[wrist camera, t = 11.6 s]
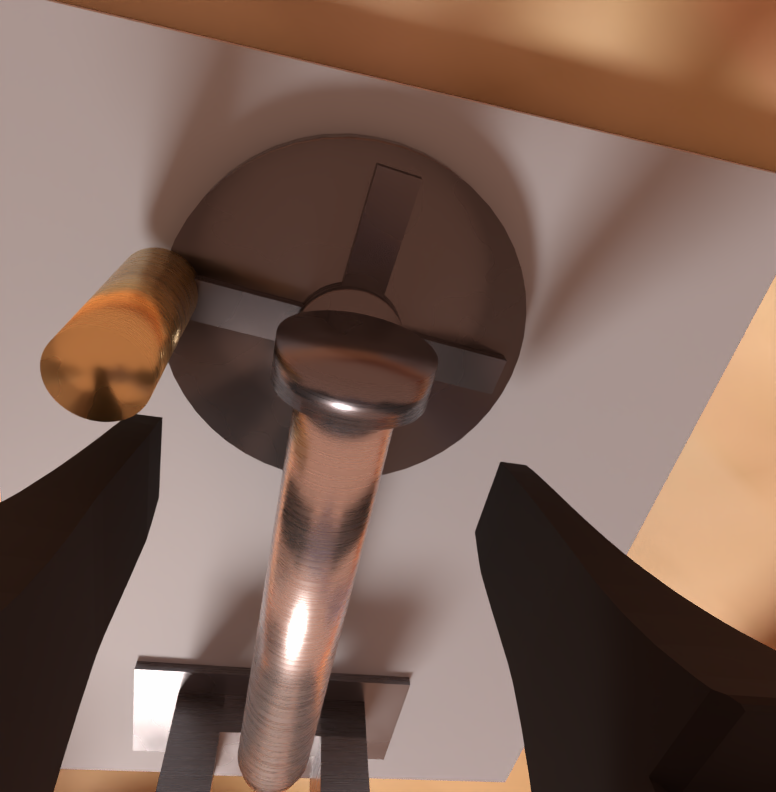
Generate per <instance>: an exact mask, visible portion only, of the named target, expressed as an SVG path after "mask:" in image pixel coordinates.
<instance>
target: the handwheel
mask: <svg viewBox="0 0 776 792" xmlns="http://www.w3.org/2000/svg"><path fill="white" fill-rule="evenodd" d="M317 310H336V311H347V312H354V313H360V314H365V315H369V316H373V317H377V318H380V319H384V320H386V321H389V322H392V323H395V324H397V325H399V326H402V327H404V328H406V329H408V330H410V331H412V332H413V333H415V334H417V335H418V336H420V337H421V338H423V339H424V340H425V341H426V342H427V343H428V344H429V345H430V346H431V347H432V348H433V349H434V351H435V352H436V354H437V356H438V367H437V370H436V374H435V378H434V381H433V385H432V388H431V392H430V395H429V399H428V403H427V406H426V409H425V411H424V413H423V414H422V415H421V416H420V417H419V418H418V419H417V420H415V421H414V422H412V423H410V424H407V425H405V426H402V427H398V428H393V432H392V436H391V440H390V444H389V448H388V452H387V456H386V459H385V463H384V467H383V471H382V475H385V474H389V473H393V472H396V471H400V470H403V469H407V468H409V467H412V466H414V465H417V464H419V463H422V462H424V461H426V460H428V459H430V458H432V457H434V456H436V455H437V454H439V453H441V452H443V451H445V450H446V449H447V448H449V447H450V446H452V445H453V444H455V443H456V442H458V441H459V440H460V439H462V438H463V437H464V436H465V435H466V434H467V433H469V432H470V431H471V430H472V429H473V428H474V427H475V426H476V425H477V424H478V423H479V422H480V421H481V420H482V419H483V418H484V417H485V416H486V414H487V413H488V412H489V411H490V410H491V408H492V407H493V406H494V404H495V403H496V401H497V400H498V399H499V397H500V396H501V394H502V393H503V391H504V389H505V387H506V385H507V383H508V382H509V380H510V378H511V376H512V374H513V371H514V368H515V366H516V363H517V361H518V358H519V355H520V351H521V347H522V343H523V339H524V333H525V323H526V291H525V285H524V280H523V274H522V269H521V266H520V263H519V260H518V257H517V254H516V251H515V248H514V246H513V244H512V242H511V240H510V238H509V236H508V234H507V232H506V230H505V228H504V226H503V225H502V223H501V222H500V220H499V219H498V217H497V216H496V215H495V213H494V212H493V210H492V209H491V207H490V206H489V205H488V204H487V203H486V202H485V201H484V200H483V199H482V198H481V197H480V195H479V194H478V193H477V192H476V191H475V190H474V189H473V188H472V187H471V186H470V185H469V184H468V183H467V182H466V181H465V180H464V179H462V178H461V177H460V176H459V175H457V174H456V173H455V172H454V171H452V170H451V169H450V168H449V167H447V166H446V165H445V164H443V163H441V162H439V161H438V160H436V159H434V158H433V157H431V156H429V155H428V154H426V153H424V152H422V151H419V150H417V149H415V148H412V147H410V146H407V145H405V144H403V143H400V142H396V141H392V140H388V139H384V138H381V137H377V136H369V135H360V134H351V133H344V134H321V135H315V136H310V137H304V138H298V139H295V140H292V141H288V142H285V143H282V144H279V145H276V146H273V147H271V148H269V149H267V150H265V151H263V152H261V153H259V154H257V155H255V156H253V157H251V158H249V159H247V160H246V161H244V162H243V163H242V164H240V165H239V166H237V167H236V168H234V169H233V170H231V171H230V172H228V173H227V174H226V175H225V176H224V177H223V178H222V179H221V180H220V181H219V182H218V183H217V184H216V185H214V186H213V187H212V188H211V189H210V190H209V192H208V193H207V194H206V195H205V196H204V198H203V199H202V200H201V201H200V203H199V204H198V205H197V206H196V208H195V209H194V210H193V211H192V213H191V214H190V215H189V217H188V218H187V219H186V221H185V223H184V225H183V226H182V228H181V230H180V232H179V233H178V235H177V237H176V238H175V240H174V243H173V246H172V248H171V251H170V250H167V249H164V248H156V247H153V248H145V249H142V250H139V251H137V252H135V253H133V254H132V255H131V256H130V257H129V258H127V260H126V261H125V262H124V263H123V264H122V265H121V266H120V267H119V268H118V269H117V270H116V271H115V272H114V273H113V274H112V276H111V277H110V278H109V279H108V280H107V281H106V282H105V283H104V284H103V285H102V286H101V287H100V288H99V289H98V290H97V292H96V293H95V294H94V295H93V296H92V297H91V298H90V299H89V300H88V301H87V302H86V303H85V304H84V305H83V307H82V308H81V309H80V310H79V311H78V312H77V313H76V314H75V315H74V316H73V317H72V318H71V319H70V320H69V321H68V323H67V324H66V325H65V326H64V327H63V328H62V329H61V330H60V331H59V332H58V333H57V334H56V335H55V336H54V337H53V339H52V340H51V341H50V342H49V343H48V344H47V346H46V347H45V349H44V351H43V353H42V356H41V360H40V372H41V377H42V380H43V383H44V385H45V387H46V389H47V391H48V392H49V394H50V395H51V396H52V397H53V398H54V400H55V401H56V402H57V403H59V404H60V405H61V406H62V407H63V408H65V409H66V410H68V411H69V412H71V413H73V414H75V415H77V416H79V417H82V418H85V419H88V420H92V421H98V422H115V421H121V420H124V419H127V418H130V417H132V416H134V415H135V414H137V413H138V412H140V411H141V410H142V409H143V408H144V407H145V406H146V404H147V403H148V401H149V400H150V398H151V396H152V394H153V392H154V390H155V388H156V386H157V384H158V382H159V380H160V378H161V376H162V374H163V372H164V370H165V368H166V366H167V364H168V363H169V365H170V368H171V371H172V373H173V376H174V378H175V379H176V381H177V383H178V385H179V387H180V389H181V391H182V392H183V394H184V396H185V397H186V399H187V400H188V401H189V403H190V404H191V405H192V407H193V408H194V410H195V411H196V412H197V413H198V415H199V416H200V417H201V418H202V419H203V420H204V421H205V422H206V423H207V424H208V425H209V426H210V427H211V428H212V429H213V430H214V431H215V432H216V433H218V434H219V435H220V436H221V437H222V438H224V439H225V440H226V441H227V442H229V443H230V444H232V445H233V446H235V447H236V448H238V449H239V450H241V451H242V452H244V453H245V454H247V455H249V456H251V457H253V458H255V459H257V460H259V461H261V462H263V463H265V464H268V465H271V466H273V467H276V468H279V469H281V470H283V466H284V460H285V453H286V447H287V441H288V435H289V428H290V422H291V416H292V410H293V408H292V407H291V406H289V405H288V404H287V403H286V402H284V401H283V400H282V399H281V398H280V397H279V396H278V395H277V393H276V392H275V391H274V389H273V387H272V384H271V380H270V377H271V368H272V360H273V353H274V346H275V338H276V331H277V328H278V326H279V324H280V323H281V322H282V321H283V320H285V319H286V318H288V317H290V316H292V315H295V314H298V313H302V312H308V311H317Z"/></svg>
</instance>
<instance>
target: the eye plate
mask: <svg viewBox="0 0 776 792" xmlns="http://www.w3.org/2000/svg"><path fill="white" fill-rule="evenodd" d="M250 672H251V668H246V667H230V666H213V665H197V664H180V663H164V662H147V661H137V662H136V666H135V669H134V713H133V751H158V752H165V754H164V758H163V763H162V767H161V771H160V776H159V780H158V784H157V789H156V792H211V791H212V784H213V778H214V775H222V776H243V775H242V773H241V771H240V768H239V765H238V758H237V755H238V747H239V741H240V735H241V728H242V722H243V716H244V710H245V703H246V697H247V691H248V685H249V678H250ZM409 687H410V680H409V677H395V676H379V675H362V674H346V673H331V674H330V678H329V682H328V686H327V690H326V694H325V698H324V702H323V706H322V709H321V713H320V717H319V721H318V725H317V729H316V733H315V737H314V741H313V745H312V748H311V752H310V756H309V760H308V764H307V767H306V769H305V771H304V773H303V774H302V776H301V777H300V778H310V792H370V789H369V772H368V759H382V760H384V757H385V755H386V752H387V749H388V746H389V743H390V741H391V738H392V735H393V732H394V729H395V727H396V724H397V721H398V718H399V715H400V713H401V710H402V707H403V704H404V701H405V698H406V696H407V693H408V690H409Z"/></svg>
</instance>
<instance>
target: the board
mask: <svg viewBox="0 0 776 792" xmlns="http://www.w3.org/2000/svg"><path fill="white" fill-rule="evenodd" d="M344 133H351V134H360V135H369V136H377V137H381V138H384V139H388V140H392V141H396V142H400V143H403V144H405V145H407V146H410V147H412V148H415V149H417V150H419V151H422V152H424V153H426V154H428V155H429V156H431V157H433V158H434V159H436V160H438V161H439V162H441V163H443V164H445V165H446V166H447V167H449V168H450V169H451V170H452V171H454V172H455V173H456V174H457V175H459V176H460V177H461V178H462V179H464V180H465V181H466V182H467V183H468V184H469V185H470V186H471V187H472V188H473V189H474V190H475V191H476V192H477V193H478V194H479V195H480V197H481V198H482V199H483V200H484V201H485V202H486V203H487V204H488V205H489V206H490V207H491V209H492V210H493V212H494V213H495V215H496V216H497V217H498V219H499V220H500V222H501V223H502V225H503V226H504V228H505V230H506V232H507V234H508V236H509V238H510V240H511V242H512V244H513V246H514V248H515V251H516V254H517V257H518V260H519V263H520V266H521V269H522V274H523V280H524V285H525V291H526V323H525V333H524V339H523V343H522V347H521V351H520V355H519V358H518V361H517V363H516V366H515V368H514V371H513V374H512V376H511V378H510V380H509V382H508V383H507V385H506V387H505V389H504V391H503V393H502V394H501V396H500V397H499V399H498V400H497V401H496V403H495V404H494V406H493V407H492V408H491V410H490V411H489V412H488V413H487V414H486V416H485V417H484V418H483V419H482V420H481V421H480V422H479V423H478V424H477V425H476V426H475V427H474V428H473V429H472V430H471V431H470V432H469V433H467V434H466V435H465V436H464V437H463V438H462V439H460V440H459V441H458V442H456V443H455V444H453V445H452V446H450V447H449V448H447V449H446V450H445V451H443V452H441V453H439V454H437V455H436V456H434V457H432V458H430V459H428V460H426V461H424V462H422V463H419V464H417V465H414V466H412V467H409V468H407V469H403V470H400V471H396V472H393V473H389V474H385V475H381V479H380V483H379V487H378V491H377V495H376V499H375V502H374V506H373V510H372V514H371V518H370V522H369V526H368V530H367V534H366V538H365V541H364V545H363V549H362V553H361V557H360V561H359V565H358V569H357V573H356V577H355V581H354V584H353V588H352V592H351V596H350V600H349V604H348V608H347V612H346V616H345V620H344V624H343V627H342V631H341V635H340V639H339V643H338V647H337V651H336V655H335V659H334V663H333V666H332V670H331V673H346V674H362V675H379V676H395V677H409V680H410V687H409V690H408V693H407V696H406V698H405V701H404V704H403V707H402V710H401V713H400V715H399V718H398V721H397V724H396V727H395V729H394V732H393V735H392V738H391V741H390V743H389V746H388V749H387V752H386V755H385V757H384V760H382V759H368V772H369V778H381V779H415V780H448V781H481V782H505V781H506V780H507V778H508V776H509V774H510V772H511V770H512V768H513V766H514V765H515V763H516V761H517V759H518V757H519V755H520V753H521V751H522V750H523V748H524V741H523V735H522V729H521V723H520V718H519V713H518V707H517V702H516V697H515V692H514V686H513V682H512V678H511V674H510V670H509V666H508V662H507V659H506V656H505V653H504V649H503V646H502V643H501V639H500V636H499V633H498V629H497V626H496V623H495V619H494V616H493V613H492V610H491V606H490V603H489V599H488V596H487V593H486V589H485V586H484V582H483V579H482V575H481V571H480V565H479V559H478V552H477V545H476V537H475V530H476V527H477V524H478V522H479V519H480V516H481V513H482V511H483V508H484V505H485V502H486V500H487V497H488V494H489V491H490V489H491V486H492V483H493V480H494V478H495V475H496V472H497V469H498V467H499V464H500V462H507V463H515V464H522V465H527V466H528V467H529V468H531V469H532V470H533V471H534V472H535V473H536V474H538V475H539V476H540V477H541V478H542V479H543V480H544V481H545V482H546V483H547V484H548V485H549V486H550V487H551V488H553V489H554V490H555V491H556V492H557V493H558V494H559V495H560V496H561V497H562V498H563V499H564V500H565V501H566V502H567V503H568V504H569V505H570V506H571V507H572V508H574V509H575V510H576V511H577V512H578V513H579V514H580V515H581V516H582V517H583V518H584V519H585V520H586V521H587V522H589V523H590V524H591V525H592V526H593V527H594V528H595V529H596V530H597V531H598V532H600V533H601V534H602V535H603V536H604V537H605V538H606V539H608V540H609V541H610V542H611V543H612V544H614V545H615V546H616V547H617V548H618V549H619V550H621V551H622V552H623V553H624V554H625V555H627V553H628V551H629V549H630V547H631V545H632V543H633V542H634V540H635V538H636V536H637V534H638V532H639V530H640V528H641V527H642V525H643V523H644V521H645V519H646V517H647V515H648V513H649V512H650V510H651V508H652V506H653V504H654V502H655V500H656V498H657V497H658V495H659V493H660V491H661V489H662V487H663V485H664V483H665V482H666V480H667V478H668V476H669V474H670V472H671V470H672V468H673V467H674V465H675V463H676V461H677V459H678V457H679V455H680V453H681V452H682V450H683V448H684V446H685V444H686V442H687V440H688V438H689V437H690V435H691V433H692V431H693V429H694V427H695V425H696V423H697V422H698V420H699V418H700V416H701V414H702V412H703V410H704V408H705V407H706V405H707V403H708V401H709V399H710V397H711V395H712V393H713V392H714V390H715V388H716V386H717V384H718V382H719V380H720V378H721V377H722V375H723V373H724V371H725V369H726V367H727V365H728V363H729V362H730V360H731V358H732V356H733V354H734V352H735V350H736V348H737V347H738V345H739V343H740V341H741V339H742V337H743V335H744V334H745V332H746V330H747V328H748V326H749V324H750V322H751V320H752V319H753V317H754V315H755V313H756V311H757V309H758V307H759V305H760V304H761V302H762V300H763V298H764V296H765V294H766V292H767V290H768V289H769V287H770V285H771V283H772V281H773V279H774V277H775V275H776V172H773V171H769V170H765V169H761V168H757V167H752V166H748V165H744V164H740V163H736V162H731V161H727V160H723V159H719V158H715V157H710V156H706V155H702V154H698V153H694V152H689V151H685V150H681V149H677V148H673V147H668V146H664V145H660V144H656V143H652V142H647V141H643V140H639V139H635V138H631V137H626V136H622V135H618V134H614V133H609V132H605V131H601V130H597V129H593V128H588V127H584V126H580V125H576V124H572V123H567V122H563V121H559V120H555V119H551V118H546V117H542V116H538V115H534V114H530V113H525V112H521V111H517V110H513V109H509V108H504V107H500V106H496V105H492V104H488V103H483V102H479V101H475V100H471V99H467V98H462V97H458V96H454V95H450V94H446V93H441V92H437V91H433V90H429V89H425V88H420V87H416V86H412V85H408V84H404V83H399V82H395V81H391V80H387V79H383V78H378V77H374V76H370V75H366V74H362V73H357V72H353V71H349V70H345V69H340V68H336V67H332V66H328V65H324V64H319V63H315V62H311V61H307V60H303V59H298V58H294V57H290V56H286V55H282V54H277V53H273V52H269V51H265V50H261V49H256V48H252V47H248V46H244V45H240V44H235V43H231V42H227V41H223V40H219V39H214V38H210V37H206V36H202V35H198V34H193V33H189V32H185V31H181V30H177V29H172V28H168V27H164V26H160V25H156V24H151V23H147V22H143V21H139V20H135V19H130V18H126V17H122V16H118V15H114V14H109V13H105V12H101V11H97V10H93V9H88V8H84V7H80V6H76V5H71V4H67V3H63V2H59V1H55V0H0V493H1V502H2V501H4V500H6V499H8V498H9V497H11V496H13V495H15V494H16V493H18V492H20V491H22V490H23V489H25V488H26V487H28V486H29V485H31V484H33V483H34V482H36V481H37V480H39V479H40V478H42V477H44V476H45V475H47V474H48V473H50V472H51V471H53V470H54V469H56V468H57V467H59V466H60V465H62V464H63V463H64V462H66V461H67V460H69V459H70V458H71V457H73V456H74V455H76V454H77V453H78V452H80V451H81V450H83V449H84V448H85V447H87V446H88V445H89V444H91V443H92V442H93V441H95V440H96V439H97V438H99V437H100V436H101V435H103V434H104V433H105V432H106V431H108V430H109V429H110V428H112V427H113V426H114V425H116V424H117V423H118V422H119V421H115V422H98V421H92V420H88V419H85V418H82V417H79V416H77V415H75V414H73V413H71V412H69V411H68V410H66V409H65V408H63V407H62V406H61V405H60V404H59V403H57V402H56V401H55V400H54V398H53V397H52V396H51V395H50V394H49V392H48V391H47V389H46V387H45V385H44V383H43V380H42V377H41V372H40V360H41V356H42V353H43V351H44V349H45V347H46V346H47V344H48V343H49V342H50V341H51V340H52V339H53V337H54V336H55V335H56V334H57V333H58V332H59V331H60V330H61V329H62V328H63V327H64V326H65V325H66V324H67V323H68V321H69V320H70V319H71V318H72V317H73V316H74V315H75V314H76V313H77V312H78V311H79V310H80V309H81V308H82V307H83V305H84V304H85V303H86V302H87V301H88V300H89V299H90V298H91V297H92V296H93V295H94V294H95V293H96V292H97V290H98V289H99V288H100V287H101V286H102V285H103V284H104V283H105V282H106V281H107V280H108V279H109V278H110V277H111V276H112V274H113V273H114V272H115V271H116V270H117V269H118V268H119V267H120V266H121V265H122V264H123V263H124V262H125V261H126V260H127V258H129V257H130V256H131V255H132V254H133V253H135V252H137V251H139V250H142V249H145V248H153V247H156V248H164V249H167V250H170V251H171V248H172V246H173V243H174V240H175V238H176V237H177V235H178V233H179V232H180V230H181V228H182V226H183V225H184V223H185V221H186V219H187V218H188V217H189V215H190V214H191V213H192V211H193V210H194V209H195V208H196V206H197V205H198V204H199V203H200V201H201V200H202V199H203V198H204V196H205V195H206V194H207V193H208V192H209V190H210V189H211V188H212V187H213V186H214V185H216V184H217V183H218V182H219V181H220V180H221V179H222V178H223V177H224V176H225V175H226V174H227V173H228V172H230V171H231V170H233V169H234V168H236V167H237V166H239V165H240V164H242V163H243V162H244V161H246V160H247V159H249V158H251V157H253V156H255V155H257V154H259V153H261V152H263V151H265V150H267V149H269V148H271V147H273V146H276V145H279V144H282V143H285V142H288V141H292V140H295V139H298V138H304V137H310V136H315V135H321V134H344ZM137 414H140V415H147V416H155V417H163V418H162V441H161V464H160V488H159V500H158V503H157V506H156V510H155V513H154V517H153V520H152V524H151V527H150V530H149V534H148V537H147V540H146V543H145V545H144V547H143V549H142V552H141V554H140V556H139V559H138V561H137V563H136V565H135V568H134V570H133V572H132V575H131V577H130V579H129V581H128V584H127V586H126V588H125V590H124V592H123V595H122V597H121V599H120V601H119V604H118V606H117V608H116V610H115V613H114V615H113V617H112V619H111V622H110V624H109V626H108V628H107V631H106V633H105V635H104V638H103V640H102V643H101V645H100V648H99V650H98V653H97V655H96V658H95V661H94V664H93V667H92V670H91V673H90V676H89V679H88V682H87V685H86V689H85V692H84V695H83V698H82V701H81V704H80V707H79V710H78V713H77V716H76V720H75V723H74V726H73V729H72V733H71V736H70V739H69V742H68V745H67V749H66V752H65V755H64V758H63V761H62V765H61V768H60V769H82V770H115V771H148V772H160V771H161V767H162V763H163V758H164V754H165V752H158V751H133V713H134V669H135V666H136V662H137V661H147V662H164V663H180V664H197V665H213V666H230V667H246V668H251V666H252V660H253V653H254V647H255V641H256V635H257V628H258V622H259V616H260V610H261V603H262V597H263V591H264V585H265V578H266V572H267V566H268V560H269V553H270V547H271V541H272V535H273V528H274V522H275V516H276V510H277V503H278V497H279V491H280V485H281V478H282V472H283V470H281V469H279V468H276V467H273V466H271V465H268V464H265V463H263V462H261V461H259V460H257V459H255V458H253V457H251V456H249V455H247V454H245V453H244V452H242V451H241V450H239V449H238V448H236V447H235V446H233V445H232V444H230V443H229V442H227V441H226V440H225V439H224V438H222V437H221V436H220V435H219V434H218V433H216V432H215V431H214V430H213V429H212V428H211V427H210V426H209V425H208V424H207V423H206V422H205V421H204V420H203V419H202V418H201V417H200V416H199V415H198V413H197V412H196V411H195V410H194V408H193V407H192V405H191V404H190V403H189V401H188V400H187V399H186V397H185V396H184V394H183V392H182V391H181V389H180V387H179V385H178V383H177V381H176V379H175V378H174V376H173V373H172V371H171V368H170V365H169V363H168V364H167V366H166V368H165V370H164V372H163V374H162V376H161V378H160V380H159V382H158V384H157V386H156V388H155V390H154V392H153V394H152V396H151V398H150V400H149V401H148V403H147V404H146V406H145V407H144V408H143V409H142V410H141V411H140V412H138V413H137Z"/></svg>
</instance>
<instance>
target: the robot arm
mask: <svg viewBox="0 0 776 792" xmlns="http://www.w3.org/2000/svg"><path fill="white" fill-rule="evenodd" d="M162 418H163V417H155V416H147V415H140V414H135V415H134V416H132V417H130V418H127V419H124V420H121V421H119V422H118V423H117V424H116V425H114V426H113V427H112V428H110V429H109V430H108V431H106V432H105V433H104V434H103V435H101V436H100V437H99V438H97V439H96V440H95V441H93V442H92V443H91V444H89V445H88V446H87V447H85V448H84V449H83V450H81V451H80V452H78V453H77V454H76V455H74V456H73V457H71V458H70V459H69V460H67V461H66V462H64V463H63V464H62V465H60V466H59V467H57V468H56V469H54V470H53V471H51V472H50V473H48V474H47V475H45V476H44V477H42V478H40V479H39V480H37V481H36V482H34V483H33V484H31V485H29V486H28V487H26V488H25V489H23V490H22V491H20V492H18V493H16V494H15V495H13V496H11V497H9V498H8V499H6V500H4V501H2V502H0V792H54V788H55V785H56V782H57V778H58V775H59V771H60V768H61V765H62V761H63V758H64V755H65V752H66V749H67V745H68V742H69V739H70V736H71V733H72V729H73V726H74V723H75V720H76V716H77V713H78V710H79V707H80V704H81V701H82V698H83V695H84V692H85V689H86V685H87V682H88V679H89V676H90V673H91V670H92V667H93V664H94V661H95V658H96V655H97V653H98V650H99V648H100V645H101V643H102V640H103V638H104V635H105V633H106V631H107V628H108V626H109V624H110V622H111V619H112V617H113V615H114V613H115V610H116V608H117V606H118V604H119V601H120V599H121V597H122V595H123V592H124V590H125V588H126V586H127V584H128V581H129V579H130V577H131V575H132V572H133V570H134V568H135V565H136V563H137V561H138V559H139V556H140V554H141V552H142V549H143V547H144V545H145V543H146V540H147V537H148V534H149V530H150V527H151V524H152V520H153V517H154V513H155V510H156V506H157V503H158V500H159V488H160V464H161V441H162ZM475 537H476V545H477V552H478V559H479V565H480V571H481V575H482V579H483V582H484V586H485V589H486V593H487V596H488V599H489V603H490V606H491V610H492V613H493V616H494V619H495V623H496V626H497V629H498V633H499V636H500V639H501V643H502V646H503V649H504V653H505V656H506V659H507V662H508V666H509V670H510V674H511V678H512V682H513V686H514V692H515V697H516V702H517V707H518V713H519V718H520V723H521V729H522V735H523V741H524V747H525V753H526V759H527V765H528V772H529V778H530V785H531V792H776V651H775V650H773V649H771V648H770V647H768V646H766V645H764V644H762V643H760V642H758V641H756V640H755V639H753V638H751V637H749V636H747V635H745V634H743V633H742V632H740V631H738V630H736V629H735V628H733V627H731V626H729V625H728V624H726V623H724V622H722V621H721V620H719V619H717V618H716V617H714V616H712V615H711V614H709V613H708V612H706V611H704V610H703V609H701V608H700V607H698V606H696V605H695V604H693V603H692V602H690V601H688V600H687V599H685V598H684V597H682V596H681V595H679V594H678V593H676V592H675V591H673V590H672V589H671V588H669V587H668V586H666V585H665V584H664V583H662V582H661V581H659V580H658V579H657V578H655V577H654V576H653V575H651V574H650V573H649V572H647V571H646V570H644V569H643V568H642V567H640V566H639V565H638V564H637V563H635V562H634V561H633V560H631V559H630V558H629V557H628V556H627V555H625V554H624V553H623V552H622V551H621V550H619V549H618V548H617V547H616V546H615V545H614V544H612V543H611V542H610V541H609V540H608V539H606V538H605V537H604V536H603V535H602V534H601V533H600V532H598V531H597V530H596V529H595V528H594V527H593V526H592V525H591V524H590V523H589V522H587V521H586V520H585V519H584V518H583V517H582V516H581V515H580V514H579V513H578V512H577V511H576V510H575V509H574V508H572V507H571V506H570V505H569V504H568V503H567V502H566V501H565V500H564V499H563V498H562V497H561V496H560V495H559V494H558V493H557V492H556V491H555V490H554V489H553V488H551V487H550V486H549V485H548V484H547V483H546V482H545V481H544V480H543V479H542V478H541V477H540V476H539V475H538V474H536V473H535V472H534V471H533V470H532V469H531V468H529V467H528V466H527V465H522V464H515V463H507V462H500V464H499V467H498V469H497V472H496V475H495V478H494V480H493V483H492V486H491V489H490V491H489V494H488V497H487V500H486V502H485V505H484V508H483V511H482V513H481V516H480V519H479V522H478V524H477V527H476V530H475Z"/></svg>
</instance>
